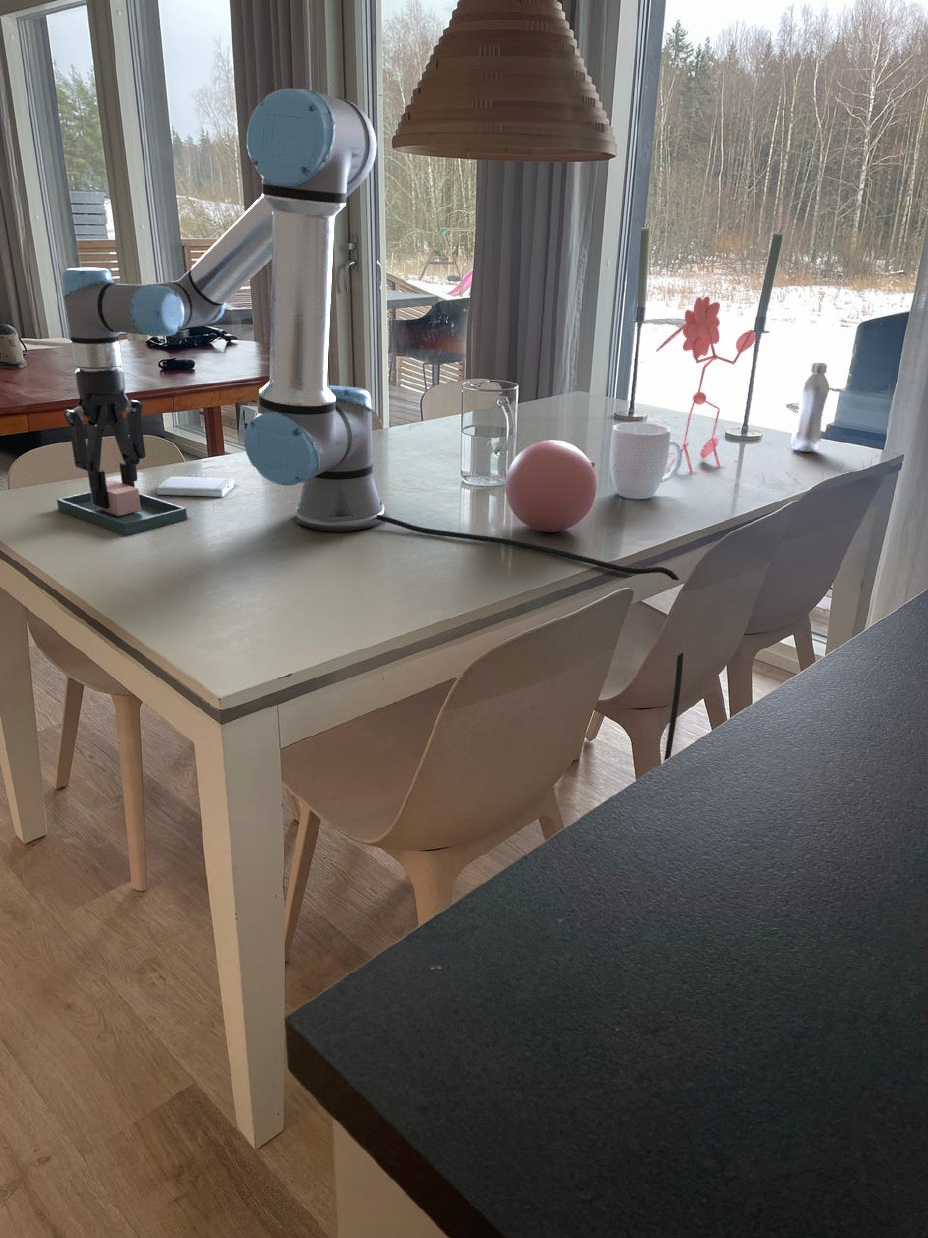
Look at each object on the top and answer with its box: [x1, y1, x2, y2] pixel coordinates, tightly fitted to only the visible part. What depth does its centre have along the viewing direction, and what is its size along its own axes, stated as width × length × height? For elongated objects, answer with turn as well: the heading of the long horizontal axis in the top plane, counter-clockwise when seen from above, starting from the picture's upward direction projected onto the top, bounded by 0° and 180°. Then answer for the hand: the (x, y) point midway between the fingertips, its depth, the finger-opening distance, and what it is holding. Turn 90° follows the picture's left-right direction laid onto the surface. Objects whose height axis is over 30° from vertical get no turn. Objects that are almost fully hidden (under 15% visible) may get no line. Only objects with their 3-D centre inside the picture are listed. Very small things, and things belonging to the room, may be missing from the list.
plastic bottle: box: [790, 362, 830, 453], centre depth 214 cm, size 6×7×20 cm
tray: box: [56, 491, 188, 537], centre depth 163 cm, size 21×12×2 cm, turn 51°
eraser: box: [89, 479, 141, 516], centre depth 163 cm, size 8×5×4 cm, turn 52°
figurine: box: [655, 295, 757, 474], centre depth 198 cm, size 15×26×35 cm, turn 127°
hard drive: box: [156, 475, 235, 498], centre depth 178 cm, size 2×8×12 cm
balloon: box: [504, 439, 598, 533], centre depth 159 cm, size 15×20×15 cm
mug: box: [609, 422, 683, 500], centre depth 179 cm, size 15×11×13 cm
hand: (116, 502), depth 163 cm, fingers closed on eraser, 5 cm apart
